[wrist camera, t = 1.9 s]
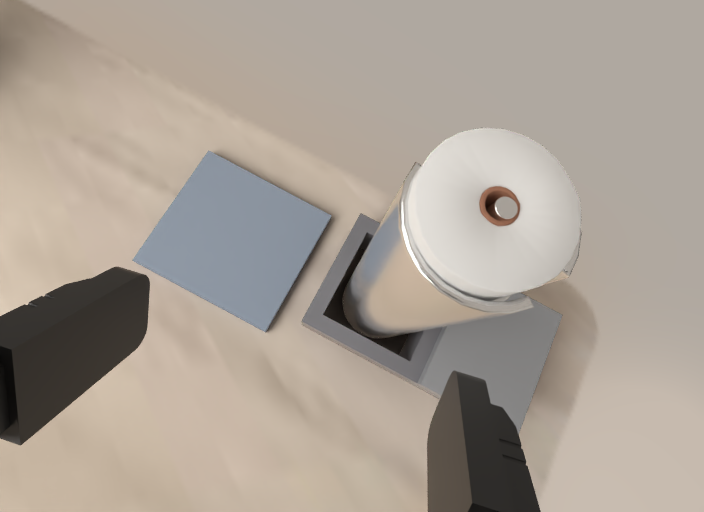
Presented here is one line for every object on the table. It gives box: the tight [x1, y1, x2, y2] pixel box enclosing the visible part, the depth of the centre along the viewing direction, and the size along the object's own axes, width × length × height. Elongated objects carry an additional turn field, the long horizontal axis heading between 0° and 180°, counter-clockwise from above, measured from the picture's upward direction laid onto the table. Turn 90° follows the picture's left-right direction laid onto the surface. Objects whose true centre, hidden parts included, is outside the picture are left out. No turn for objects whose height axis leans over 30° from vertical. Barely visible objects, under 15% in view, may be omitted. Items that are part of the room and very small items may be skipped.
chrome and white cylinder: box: [343, 128, 581, 338], centre depth 25 cm, size 6×6×25 cm
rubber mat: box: [132, 151, 331, 332], centre depth 37 cm, size 13×12×1 cm
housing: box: [301, 214, 562, 434], centre depth 34 cm, size 18×10×6 cm, turn 63°
